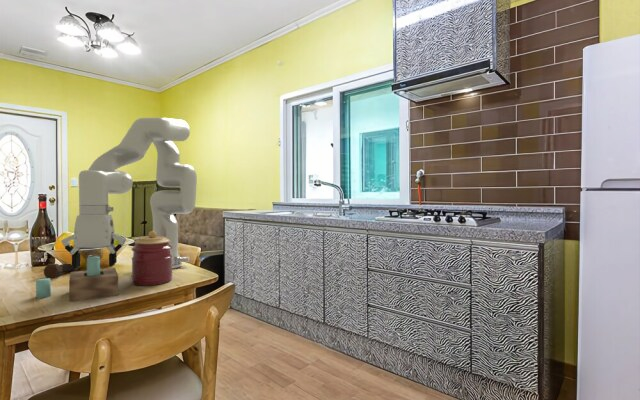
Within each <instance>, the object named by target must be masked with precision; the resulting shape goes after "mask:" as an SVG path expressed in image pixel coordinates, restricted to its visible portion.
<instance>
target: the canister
mask: <svg viewBox="0 0 640 400" xmlns="http://www.w3.org/2000/svg"><path fill="white" fill-rule="evenodd" d="M169 242H170V240H169V239H167V238H166V237H164V236H157V234H156V232H155V231H153V230H151V231H149V232H148V235H147V236H141V237H139V238H138V239H136V240H134V241H133V243H134V246H133V247H131V251H132V253H133V254H132V257H131V258H130V259H131V277H130V278H131V281H132V284H133V285H136V286H156V285H161V284H162V285H163V284H166V283H169V282H170V281H172V279H173V269H172V257H173V256H172V255H171V249H172V248H173V247H172V246H171V245H170V244H169Z"/></svg>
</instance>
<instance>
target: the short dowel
mask: <svg viewBox="0 0 640 400" xmlns="http://www.w3.org/2000/svg"><path fill="white" fill-rule="evenodd" d="M51 279H52V278H46V277H45V278H39V279H36V280H35V298H36V299H43V298H44V299H46V298H49V297H51V295H52V294H51V292H52V291H51V282H52V281H51Z"/></svg>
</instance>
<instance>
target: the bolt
mask: <svg viewBox="0 0 640 400" xmlns="http://www.w3.org/2000/svg"><path fill="white" fill-rule="evenodd" d="M76 271H79V266H78V267H76V268H74V267H73V265H71V264H66V263H63V264H62V263H61V264H59V263H47V265H46V266H44V269H43V275H44V276H45V278H50V279H58V278H59V277H60V275H61V274H65V273H70V272H76Z"/></svg>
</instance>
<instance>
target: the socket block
mask: <svg viewBox="0 0 640 400" xmlns="http://www.w3.org/2000/svg"><path fill="white" fill-rule="evenodd" d="M68 283H69V285H68V286H69V288H68V289H69V292H68V293H69V294H68V295H69V299H68V300H69V301H68V302H70V303H71V302H78V301H83V300H92V299H98V298H99V299H101V298H106V297H114V296H118V295H119V274H118V272H117V270H116V268H115V267H109V268H100V275H94V276H87V270H77V271H76V272H69V280H68Z"/></svg>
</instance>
